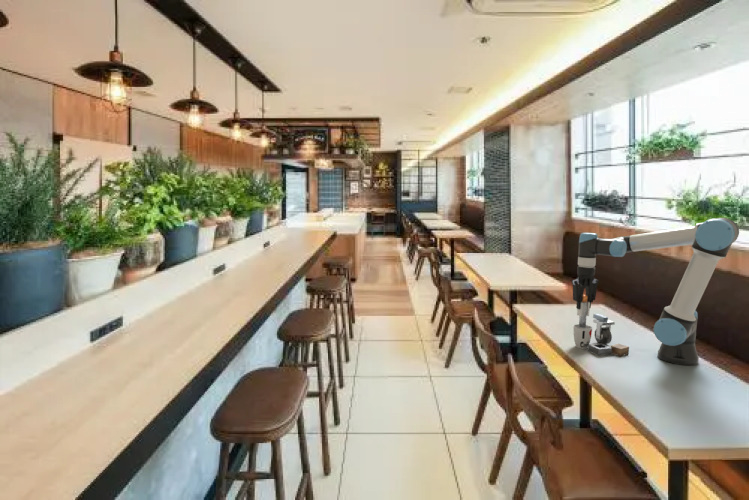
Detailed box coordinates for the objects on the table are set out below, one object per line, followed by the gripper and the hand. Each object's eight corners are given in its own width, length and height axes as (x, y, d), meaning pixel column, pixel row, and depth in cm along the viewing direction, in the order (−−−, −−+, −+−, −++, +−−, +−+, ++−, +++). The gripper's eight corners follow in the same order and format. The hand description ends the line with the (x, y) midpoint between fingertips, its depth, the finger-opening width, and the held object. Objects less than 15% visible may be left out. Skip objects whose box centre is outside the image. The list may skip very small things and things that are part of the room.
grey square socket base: (611, 354, 214) (612, 347, 213) (598, 355, 212) (599, 349, 211) (600, 349, 220) (601, 343, 220) (587, 350, 219) (588, 344, 218)
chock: (628, 354, 215) (629, 346, 214) (620, 356, 212) (620, 349, 211) (618, 350, 219) (618, 343, 218) (610, 353, 216) (610, 345, 215)
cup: (580, 350, 219) (581, 329, 217) (568, 345, 226) (569, 325, 225) (594, 349, 221) (596, 328, 219) (582, 343, 228) (584, 323, 227)
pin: (587, 327, 221) (589, 296, 219) (581, 327, 221) (583, 296, 219) (582, 325, 224) (584, 294, 222) (577, 325, 223) (579, 294, 222)
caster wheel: (614, 345, 225) (616, 318, 224) (602, 347, 224) (604, 319, 222) (599, 339, 235) (601, 313, 233) (587, 340, 233) (589, 314, 231)
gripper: (595, 264, 224) (592, 312, 227) (566, 265, 220) (563, 314, 223) (606, 266, 217) (603, 316, 220) (576, 268, 213) (573, 318, 216)
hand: (583, 315), depth 222 cm, fingers open, 3 cm apart
